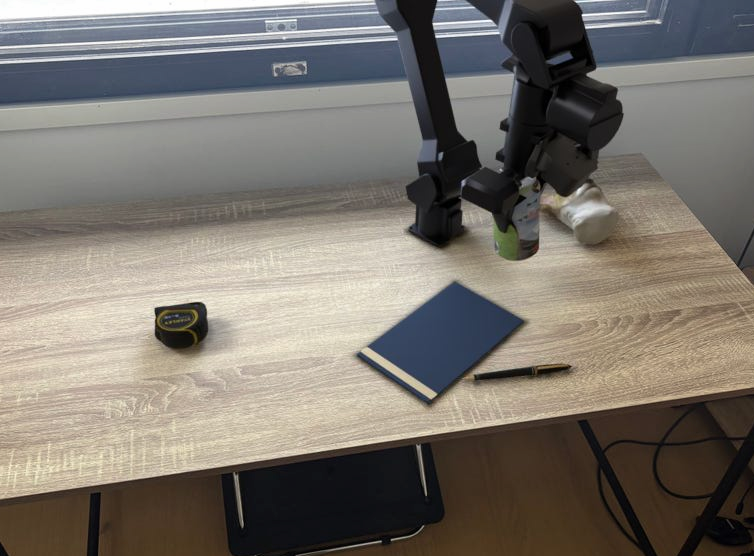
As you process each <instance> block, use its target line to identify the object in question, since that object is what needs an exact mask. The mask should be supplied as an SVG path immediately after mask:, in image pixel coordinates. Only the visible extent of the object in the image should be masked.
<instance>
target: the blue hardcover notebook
mask: <svg viewBox="0 0 754 556" xmlns="http://www.w3.org/2000/svg"><path fill="white" fill-rule="evenodd" d="M524 323H525V320H524V319H523V318H521V317H519V316H517V315H515V314H514V313H512V312H510V311H509V310H506V309H505V308H503V307H502V306H499V305H498V304H496V303H494V302H493V301H491V300H489V299H487V298H485V297H483V296H482V295H480V294H478V293H476V292H475V291H472V290H471V289H469V288H467V287H466V286H464V285H462V284H460V283H459V282H456V281H453V282H452V283H450V284H449V285H447V286H446V287H445V288H444V289H442V290H441V291H440V292H438V293H437V294H436V295H434V296H433V297H431V298H430V299H429V300H428V301H426V302H425V303H424V304H422V305H421V306H420V307H418V308H417V309H416V310H414V311H412V312H411V313H410V314H409V315H407V316H406V317H405V318H403V319H402V320H401V321H399V322H398V323H397V324H395V325H393V327H391V328H390V329H389V330H387V331H386V332H385V333H383V334H382V335H380V336H379V337H377V339H375V340H374V341H373V342H371V343H370V344H369V345H367V346H365V347H364V348H363V349H361V350H359V352H358V353H356V356H357V357H358V358H359V359H361V360H362V361H364V363H367V364H368V365H369V366H371V367H372V368H374V369H375V370H377V371H378V372H379V373H381V374H383V375H384V376H385V377H387V379H389V380H391V381H392V382H394V383H396V384H397V385H399V386H400V387H402V388H403V389H404V390H406V391H408V392H409V393H410V394H411V395H413V396H415V397H416V398H417V399H419V400H421V401H422V402H424V404H426V405H429V404H430V403H432V402H433V401H434V400H435V399H436V398H438V396H440V395H441V394H442V393H444V391H446V390H447V389H448V388H449V387H450V386H452V385H453V384H454V383H455V382H456V381H458V380H459V378H461V377H462V376H464V374H466V373H467V372H468V371H469V370H470V369H472V368H473V366H475V365H476V364H477V363H479V362H480V361H481V360H482V359H483V358H484V357H485V356H487V354H489V353H490V352H491V351H492V350H494V349H495V348H496V347H497V346H498V345H499V344H500V343H502V342H503V341H505V339H506V338H508V337H509V336H510V335H511V334H512V333H514V331H516V330H517V329H518V328H519V327H520V326H522V325H523V324H524Z"/></svg>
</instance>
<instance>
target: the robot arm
mask: <svg viewBox="0 0 754 556" xmlns="http://www.w3.org/2000/svg"><path fill="white" fill-rule="evenodd" d="M373 1H374V4H375V7H376V10H377V13H378V15H379V17H380V18H381V19H382V20H383V21H384V22H385V23H386V24H387V25H388V26H389V27H390V29H391V30H393V32H394V33H395V35H396V39H397V42H398V46H399V51H400V54H401V58H402V63H403V66H404V67H403V68H404V70H405V76H406V79H407V82H408V88H409V91H410V95H411V98H412V102H413V106H414V111H415V114H416V118H417V122H418V126H419V130H420V134H421V139H422V140H421V144H420V149H419V153H418V157H417V163H416V165H417V171H418V177H417V178H416V179H414V180H412V181H411V182H409V183H408V184H406V185H405V191H406V197H407V200H408V201H409V202H411V203H412V204H414V205H415V217H414V221H415V222H414V223H413V224H411V225H409V226H408V228H407V229H408V232H409V233H411V234H413V235H415V236H416V237H418V238H420V239H423V241H426V242H427V243H429V244H431V245H433V246H435V247H436V248H441V247H442V246H444V245H446V244H447V243H448V242H450V241H451V240H453V239H454V238H456V237H457V236H458V235H459V234H460V235H461V233H463V232H465V230H466V226H465V225H464V224H462V223H463V215H464V211H463V210H462V204H463V203H462V201H463V200H465V201H466V202H469V203H471V204H472V205H475V206H476V207H478V208H480V209H482V210H484V211H487V212H489V213H491V214H492V217H493V221H494V220H495V223H496V225H497V227H498V230H499V231H500V232H502V233H504V234H505V233H506V232H507V229H508V227H509V225H510V222H511V219H512V216H513V213H514V209H515V207H516V206H517V205H519V204H520V203H521V202H523V201H524V200H526V199H527V197H525V196H523V195H520V194H519V193H520V188H521V187H522V183H521V182H523V181H524V180H526V179H527V178H529V177H530V178H532V179H534V178H535V177H536V179H537V180H538V181H539V183H540V197H541V195H543V193H544V191H545V190H546V188H547V186H548V185H549V186H550V187H551V188H552V189H553V190H554V191H555V193H556V194H558V195H560V196H562V197H568V196H570V195H571V194H572V193H573V192H575V191H576V190H577V189H579V188H581V187H582V186H583V184H584V183H585V182H586V180H587V179H588V178H590V176H591V175H592V174H593V173H594V172H596V171H597V170H598V168H599V167H598V164H599V160H598V159H599V155H600V150H602V149H603V148H606V146H607V145H609V144H610V143H611V141H612V140H613V139H614V137H615V136H616V135H617V133H618V131H619V130H620V128H621V125H622V123H623V120H624V115H625V113H624V111H623V110H624V107H623V103H622V102H621V100H620V99H617V96H618V93H619V89H618V87H617V86H615V85H612V84H611V83H605V82H601V81H599V80H597V79H595V78H592V77H590V76H588V74H589V73H592V72H594V71H596V70H597V69H598V68H597V67H598V66H597V63H596V60H595V56H594V50H593V49H592V46H591V43H590V39H589V35H588V32H587V28H586V25H585V21H584V18H583V10H582V8H581V6H580V4H579V3H577V2H576V1H575V0H465V1H466V2H467V3H468V4H469V5H471V6H472V7H473V8H475V9H476V10H477V11H479V12H480V13H481V14H482V15H484V16H485V17H486V18H488V19H489V20H490V21H491V22H493V24H494V25H495V26H496V27H497V28H498V32H499V36H500V41H501V42H502V44H503V45H504V46H505V47H506V48H507V49H508V50H509V51H510V52H511V55H510V56H508V57H507V58H505V59H504V60H501V62H500V66H501V67H502V68H503V69H505V70H507V71H509V72H510V73H513V82H512V88H511V95H510V101H509V110H508V116H507V117H505V118H504V119H502V120H500V122H499V130H500V131H503V132H505V137H504V142H503V143H504V144H503V147H502V148H501V149H499V150H498V151H496V152H495V161H498V162H500V163H503V166H502V167H500V169H499V172H498V171H496V170H493V169H491V168H489V167H487V166H484V167H483V165H482V162H481V161H480V158H479V154H478V146H477V143H476V141H475V140H473V139H471V140H468V139H466V138H465V136H464V135H462V133H461V132H460V131H459V130H458V127H457V124H456V120H455V114H454V110H453V106H452V101H451V97H450V93H449V92H450V91H449V88H448V84H447V80H446V76H445V70H444V67H443V62H442V58H441V54H440V50H439V45H438V41H437V36H436V31H435V28H434V22H433V21H434V17H435V13H436V9H437V4H438V0H373ZM567 54H570V56H571V58H569V59H566V60H564V61H561V62H559V63H555V64H554V63H552V62H549V61H550V60H553V59H556V58H558V57H561V56H564V55H567Z"/></svg>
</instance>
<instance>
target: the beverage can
mask: <svg viewBox="0 0 754 556" xmlns="http://www.w3.org/2000/svg"><path fill="white" fill-rule="evenodd" d="M521 183H522V187H521V188H520V193H519V194H520V195H523V196H525V197H527V199H526V200H524V201H523V202H521V203H520V204H519V205H517V206H516V207H515V209H514V213H513V216H512V219H511V222H510V225H509V227H508V229H507V232H506V233H505V234H504V233H502V232H500V231H499V230H498V227H497V225H496V223H495V220H494V219H493V244H494V247H493V249H494V252H495V253H496V255H498V257H500V258H502V259H504V260H507V261H509V262H522V261H526V260H528V259H530V258H533V257H534V256H535V255H536V254H537V253H538V251H539V249H540V228H541V226H540V224H541V223H540V222H541V219H540V218H541V212H540V183H539V181H538V180H537V179H536V177H535V178H534V179H532V178H530V177H529V178H527V179H526V180H524V181H523V182H521Z"/></svg>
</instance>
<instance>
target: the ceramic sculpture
mask: <svg viewBox="0 0 754 556" xmlns="http://www.w3.org/2000/svg"><path fill="white" fill-rule="evenodd" d="M540 214H543V215H545V216H549V217H551V218H555V219H558V220H559V221H561V222H562V223H563V224H564V225H566V226H568V227H569V228H570V229H571V230H572V231H573V235H574V237H575V239H576V241H577V242H578V243H580V244H583V245H597V244H599V243H601V242H602V241H604V240H605V239H608V238H609V237H610V236H611V235H612V234H613V233H614V232H615V230H616V228H617V225H618V222H619V220H620V218H621V216H620V214H619V210H618V209H617V208H616V207H614V206H611V205H609V202H608V200H607V197H606V195H605V193H604V192H603V190H602V187H601V186H600V185H599V184H598V183H597V182H596V181H594V180H593V178H590V177H588V179H587V180H586V182H585V183H584V184H583V186H582V187H581V188H579V189H577V190H576V191H575V192H573V193H572V194H571V195H570V196H568V197H562V196H560V195H558V194H557V193H556V194H555V195H551V194H545V193H544V194H542V195H541V197H540Z"/></svg>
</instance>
